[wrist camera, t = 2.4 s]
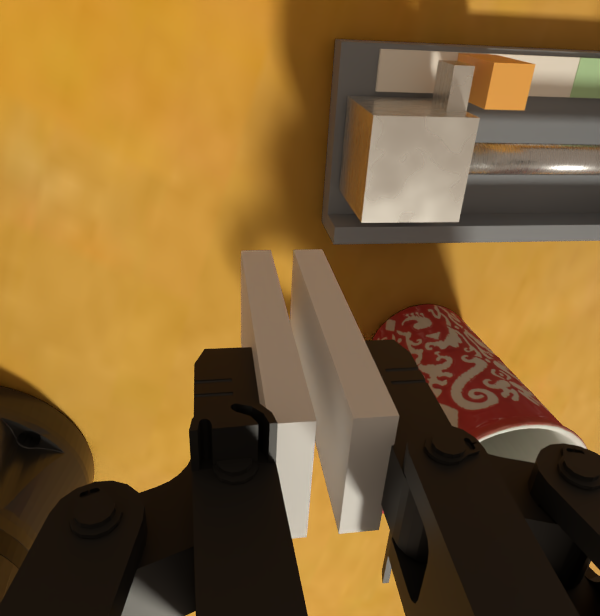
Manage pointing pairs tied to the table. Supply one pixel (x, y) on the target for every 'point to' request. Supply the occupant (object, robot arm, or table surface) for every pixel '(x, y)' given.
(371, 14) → the table surface
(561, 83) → the bench
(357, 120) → the grey block with bar
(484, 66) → the tangerine cube
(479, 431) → the mug
